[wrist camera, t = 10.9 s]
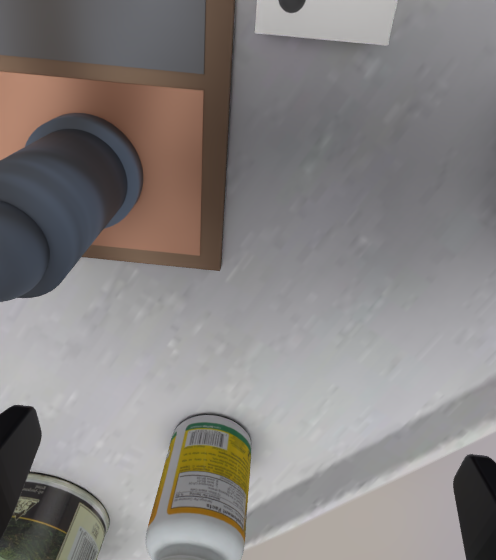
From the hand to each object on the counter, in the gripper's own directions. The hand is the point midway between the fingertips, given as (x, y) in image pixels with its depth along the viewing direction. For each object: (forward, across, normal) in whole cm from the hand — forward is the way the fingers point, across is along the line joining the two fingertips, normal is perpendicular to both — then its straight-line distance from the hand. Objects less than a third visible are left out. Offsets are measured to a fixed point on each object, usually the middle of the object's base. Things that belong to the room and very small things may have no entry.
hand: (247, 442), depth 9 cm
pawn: (+12, +8, -1) cm, 15 cm away
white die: (+13, -1, -9) cm, 16 cm away
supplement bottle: (+13, +2, +17) cm, 22 cm away
